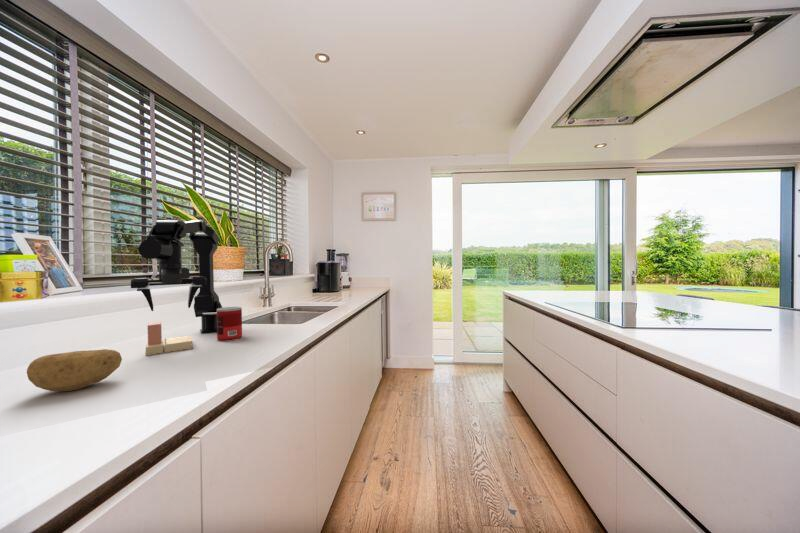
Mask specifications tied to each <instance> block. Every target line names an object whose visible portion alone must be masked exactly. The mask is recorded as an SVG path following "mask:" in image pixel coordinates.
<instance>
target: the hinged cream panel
mask: <svg viewBox="0 0 800 533" xmlns="http://www.w3.org/2000/svg"><path fill="white" fill-rule="evenodd" d="M193 344H194V343H193V338H192V336H191V335H185V336H177V337H169V338H163V351H164V353H165V352H166V353H171V352H170V351H173V352H177V350H179V351H184V350H183V349H186V350H191V348H192V349H193Z"/></svg>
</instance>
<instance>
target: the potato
mask: <svg viewBox="0 0 800 533" xmlns="http://www.w3.org/2000/svg"><path fill="white" fill-rule="evenodd" d="M122 360H123V358H122V355H121V353H120V352H119V351H117V350H114V349H103V348H102V349H93V350H92V349H91V350H75V351H70V352H69V351H68V352H62V353H51V354H46V355H43V356H40V357H37V358H35V359H33V361H31V362H30V363H29V365H28V366H27V369H26V374H27V378H28V380H29V381H30V382H31V383H32V384H33V385H34V387H37V388H39V389H42V390H45V391H50V392H73V391H77V390H80V389H84V388H86V387H89V386H91V385H94V384H97V383H100V382H102V381H103V380H106V379H107V378H108V377H109V376H110V375H112V374H113V373H114V372H115V371H116V370H118V368H119V367H120V365H121V364H122Z"/></svg>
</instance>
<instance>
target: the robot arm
mask: <svg viewBox="0 0 800 533" xmlns="http://www.w3.org/2000/svg"><path fill="white" fill-rule="evenodd" d="M195 232H196V233H195ZM187 234H189V236H188V238H189V240H190V241H191V242H192V244H193V245H192V247H193V249H194V250H195V252H196V253H197V254H198V272H199V273H198V274H199V276H190V267H183V266H182V264H183V263H182V247H184V245H185V244H184V243H183V242H181V239H183V238H185V237H186V236H187ZM219 242H220V239H219V237H218V234H217V233H216V231H215V230H214V229H213V228H211V227H210V226H208V225H207V223H206V222H205V221H203V220H201V219H198V220H193V219H191V220H188V221H182V220H164V219H163V220H159V219H158V220H156V221H155V223H154V224H153V226H152V228H151V229H150V232H149V233H148V234H147V235H146V239H144V240H143V241H141V242H140V244H139V245H138V246H137V247H138V252H139V254H140V256H141V257H143V258H145V259H146V260H158V279H149V278H148V277H141V278H133V279H131V280H130V288H131V289H136V291H137V292H141V293H142V294H143V296H144V297H145V299H146V301H147V303H148V306H149V309H150V311H151V312H154V303H153V299H152V293H151V289H150V286H170V285H172V286H174V285H190V286H189V291H188V298H187V307H188V309H190V308H191V306H192V303H193V311H194V316H195V318H200V317H201V318H200V320H201V328H200V329H199V332H200V333H201V334H205V333H213V332H217V309H219V308H224V306H222V304H221V301H220V297H219V295H218V293H216V291H215V287H214V286H215V285H214V284H215V281H214V280H215V279H214V254H215V253H216V251H217V250H218V245H219ZM198 290H199V292H198V294H196V293H197V291H198ZM193 300H194V302H193Z"/></svg>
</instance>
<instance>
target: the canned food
mask: <svg viewBox="0 0 800 533" xmlns="http://www.w3.org/2000/svg"><path fill="white" fill-rule="evenodd" d="M242 311H243V310H242V307H241V306H224V307H223V308H219V309H217V312H216V313H217V331H216V338H217V341H219V342H231V341H235V339H236V340H239V339H241V338H242V337H243V312H242ZM230 340H231V341H230Z"/></svg>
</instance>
